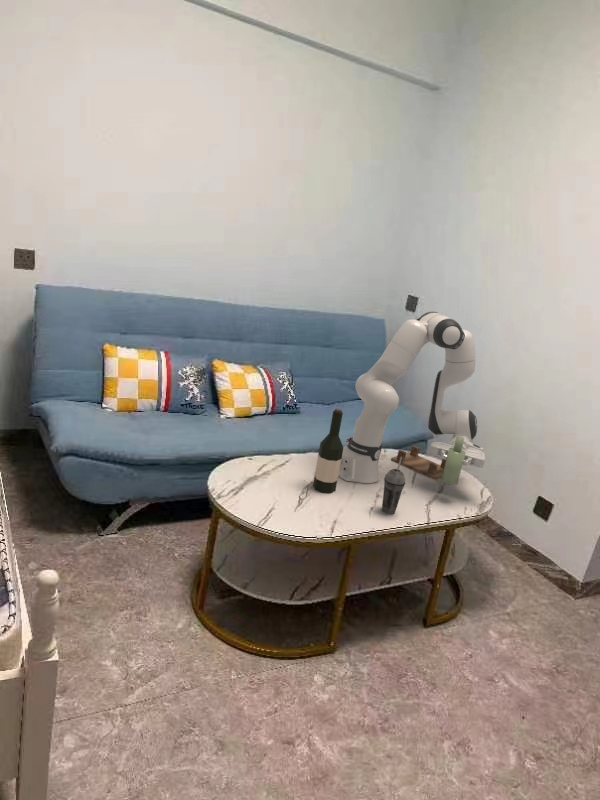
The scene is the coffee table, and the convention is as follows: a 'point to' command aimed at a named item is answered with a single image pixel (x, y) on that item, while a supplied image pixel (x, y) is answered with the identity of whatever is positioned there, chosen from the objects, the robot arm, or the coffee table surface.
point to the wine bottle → (329, 457)
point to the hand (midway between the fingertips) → (454, 460)
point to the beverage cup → (392, 490)
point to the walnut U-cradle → (419, 463)
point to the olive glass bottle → (454, 463)
